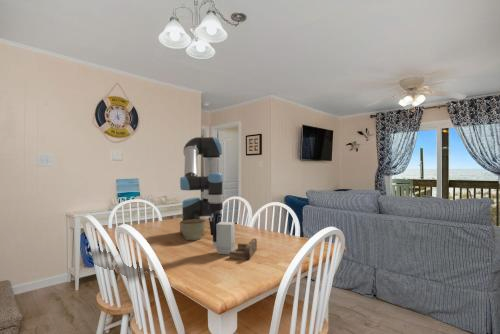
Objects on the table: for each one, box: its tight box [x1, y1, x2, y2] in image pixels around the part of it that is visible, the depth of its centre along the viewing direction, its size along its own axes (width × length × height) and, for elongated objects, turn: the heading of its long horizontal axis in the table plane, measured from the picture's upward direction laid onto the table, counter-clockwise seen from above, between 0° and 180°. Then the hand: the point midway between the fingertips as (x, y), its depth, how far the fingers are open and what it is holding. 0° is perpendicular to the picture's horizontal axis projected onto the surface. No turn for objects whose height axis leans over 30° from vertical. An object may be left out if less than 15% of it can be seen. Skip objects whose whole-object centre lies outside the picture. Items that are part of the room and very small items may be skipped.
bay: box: [228, 238, 258, 261], centre depth 142 cm, size 16×10×6 cm, turn 166°
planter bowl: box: [179, 218, 207, 241], centre depth 172 cm, size 16×16×11 cm
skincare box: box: [216, 221, 236, 255], centre depth 144 cm, size 8×7×16 cm
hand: (215, 247), depth 145 cm, fingers closed
